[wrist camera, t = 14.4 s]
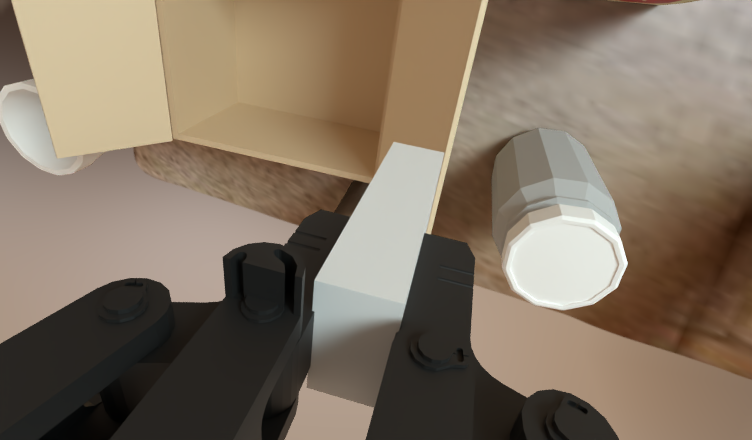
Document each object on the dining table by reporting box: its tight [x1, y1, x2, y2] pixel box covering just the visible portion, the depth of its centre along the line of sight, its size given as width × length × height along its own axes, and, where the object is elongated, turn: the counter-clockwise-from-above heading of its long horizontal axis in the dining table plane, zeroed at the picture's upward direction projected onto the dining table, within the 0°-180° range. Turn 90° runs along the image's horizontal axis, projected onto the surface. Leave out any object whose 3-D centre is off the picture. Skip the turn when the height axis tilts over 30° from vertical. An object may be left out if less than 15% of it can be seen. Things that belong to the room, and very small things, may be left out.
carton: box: [156, 0, 403, 183], centre depth 39 cm, size 20×19×12 cm
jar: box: [492, 128, 628, 310], centre depth 38 cm, size 10×10×18 cm
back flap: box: [11, 0, 173, 159], centre depth 32 cm, size 9×19×1 cm
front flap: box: [377, 0, 488, 234], centre depth 29 cm, size 9×19×1 cm
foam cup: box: [0, 79, 106, 176], centre depth 47 cm, size 10×9×13 cm
